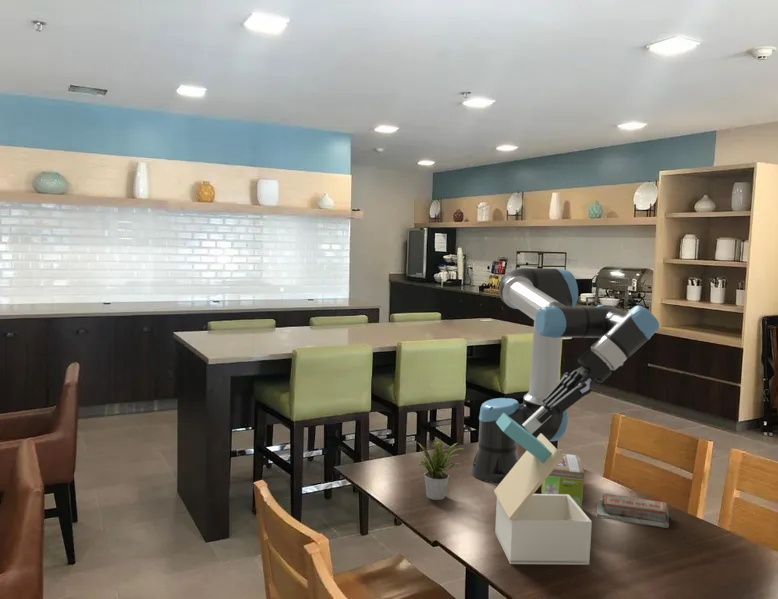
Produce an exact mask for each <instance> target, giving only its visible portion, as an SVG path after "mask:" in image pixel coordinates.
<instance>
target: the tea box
mask: <svg viewBox="0 0 778 599" xmlns="http://www.w3.org/2000/svg"><path fill="white" fill-rule="evenodd" d="M561 454H562V455H563V456H564V457H563V458H562V460H561V461H560V462H559V463H558V465H557V466H556V467H555V468H554V470H553V471H552V472H551V473H550V474H549V476H548V477H547V478H546V479H545V481H544V482H543V483H542V484H541V486H540V488H541V489H540V494H569V495H570V496H571V498H572V499H573V500H574V501H575V502H576V504H577V505H578V506H579V507H580V508H581V509H582V510H583V495H584V483H585V482H584V481H585V470H584V467H583V464H582V459H581V456H580V455H576V454H569V453H568V454H567V453H561Z"/></svg>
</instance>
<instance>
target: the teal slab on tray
mask: <svg viewBox="0 0 778 599" xmlns="http://www.w3.org/2000/svg"><path fill="white" fill-rule="evenodd" d="M496 423H497V425H498V426H499V427H500V428H501V430H502V431H503V432H504V433H505V434H507V435H508V436H509V437H510V438H512V439H513V440H514V441H516V442H517V444H518V445H519V446H521V447H522V448H523V449H524V450H525V451H524V453H523V454H522V455H521V457H520V458H518V462H517V463H516V464H515V465H514V467H513V468H512V469H511V470H510V472H509V473H508V474H507V475H506V476H505V478H504V479H503V480H502V481H501V483H499V484H498V485H497V486H496V488H494V490H493V492H494V494H495V496H496V498H497V497H498V499H499V501H500V503H501V505H502V506H503V508H504V510H505V512H506V514H507V515H508V517H509V519H511V520H513V519H514V517H515V516H516V515H517V514H518V512H519V511H520V510H521V509H522V508H523V506H524V505H525V504H526V503H527V501H528V500H529V499H530V498H531V497H532V495H533V494H536V491H537V490H539V488H541V486H542V483H543V482H544V481H545V479H546V478H547V477H548V476H549V474H550V473H551V472H552V471H553V470H554V468H555V467H556V466H557V465H558V463H559V462H560V461H561V460H562V458H563V457H564V456H563V455H562V454H563V453H561V451H560V450H558V448H557V447H556V446H554V444H552V441H549V440H548V439H547V438H546V437H545V436H544V435H543V434H541V433H540V435H539V436H538V437H537V438H535V437H534V436H533V435H532V434H530V433H529V432H528V431H526V430H525V429H524V428H523V427H521V426H520V425H519V424H518V423H516V422H515V421H514V420H512V419H511V418H510V417H509V416H507V415H506V414H505V413H503V414H502V415H501V416H500V418H499V419H498V420H497V421H496Z"/></svg>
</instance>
